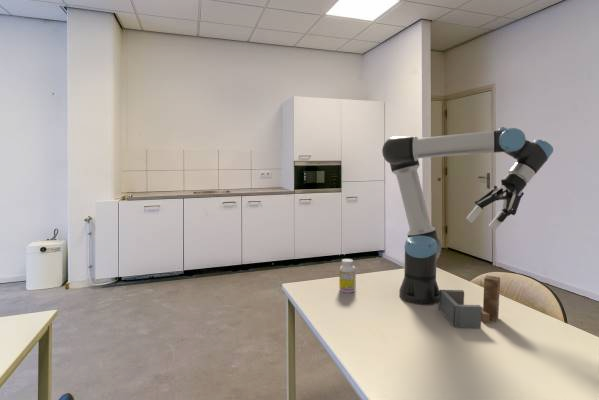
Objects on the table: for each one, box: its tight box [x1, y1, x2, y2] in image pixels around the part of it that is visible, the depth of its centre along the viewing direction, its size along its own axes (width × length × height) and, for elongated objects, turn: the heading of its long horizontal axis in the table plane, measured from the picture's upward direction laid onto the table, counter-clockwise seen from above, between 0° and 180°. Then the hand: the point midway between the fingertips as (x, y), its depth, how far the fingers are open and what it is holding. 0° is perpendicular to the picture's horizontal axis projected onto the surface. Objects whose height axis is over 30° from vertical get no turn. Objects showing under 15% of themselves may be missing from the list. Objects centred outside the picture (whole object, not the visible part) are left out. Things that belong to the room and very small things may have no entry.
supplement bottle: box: [339, 258, 357, 294], centre depth 144 cm, size 7×7×13 cm
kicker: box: [481, 275, 501, 324], centre depth 116 cm, size 7×7×14 cm
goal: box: [438, 289, 483, 329], centre depth 117 cm, size 15×8×7 cm, turn 176°
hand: (479, 224), depth 127 cm, fingers open, 13 cm apart
